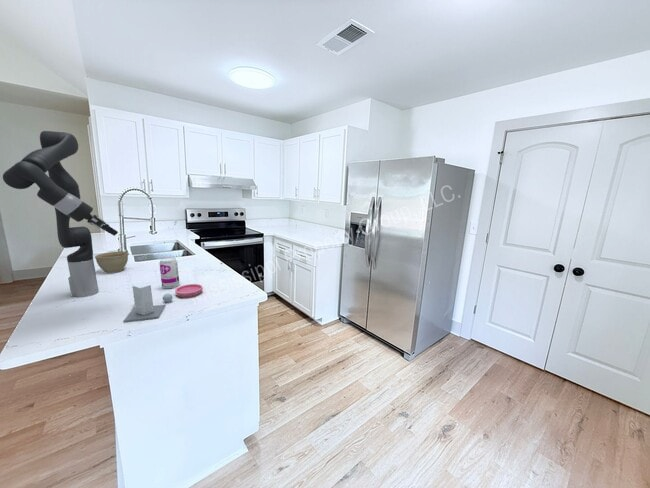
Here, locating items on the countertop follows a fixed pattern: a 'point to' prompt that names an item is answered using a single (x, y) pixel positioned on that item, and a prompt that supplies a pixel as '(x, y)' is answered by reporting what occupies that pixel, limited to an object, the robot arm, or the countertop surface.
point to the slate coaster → (138, 317)
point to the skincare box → (143, 298)
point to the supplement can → (169, 272)
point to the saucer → (189, 290)
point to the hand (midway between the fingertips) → (113, 232)
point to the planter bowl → (112, 261)
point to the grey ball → (167, 297)
